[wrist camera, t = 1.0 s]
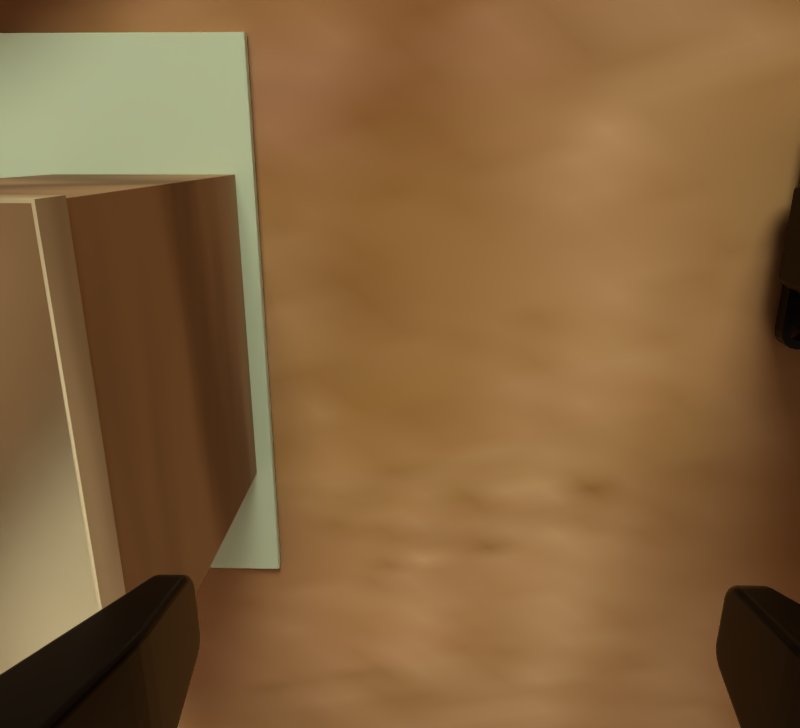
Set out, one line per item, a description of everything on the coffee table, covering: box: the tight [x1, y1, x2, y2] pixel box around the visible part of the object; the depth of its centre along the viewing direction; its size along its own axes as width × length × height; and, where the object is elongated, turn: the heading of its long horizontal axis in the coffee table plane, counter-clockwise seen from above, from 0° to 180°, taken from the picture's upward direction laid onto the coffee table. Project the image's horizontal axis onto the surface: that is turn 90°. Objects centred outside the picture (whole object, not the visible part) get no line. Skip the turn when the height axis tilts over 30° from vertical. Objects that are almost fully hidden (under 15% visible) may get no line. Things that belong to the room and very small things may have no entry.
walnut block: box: [0, 174, 257, 674], centre depth 15 cm, size 5×9×10 cm, turn 0°
